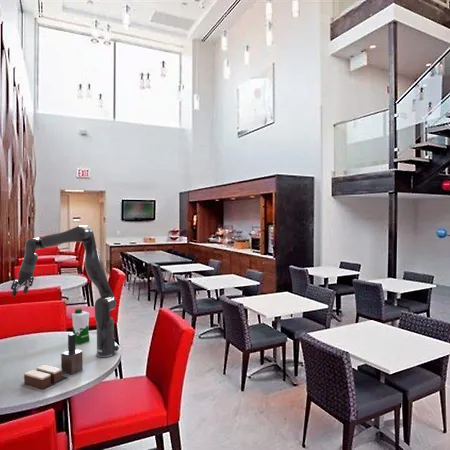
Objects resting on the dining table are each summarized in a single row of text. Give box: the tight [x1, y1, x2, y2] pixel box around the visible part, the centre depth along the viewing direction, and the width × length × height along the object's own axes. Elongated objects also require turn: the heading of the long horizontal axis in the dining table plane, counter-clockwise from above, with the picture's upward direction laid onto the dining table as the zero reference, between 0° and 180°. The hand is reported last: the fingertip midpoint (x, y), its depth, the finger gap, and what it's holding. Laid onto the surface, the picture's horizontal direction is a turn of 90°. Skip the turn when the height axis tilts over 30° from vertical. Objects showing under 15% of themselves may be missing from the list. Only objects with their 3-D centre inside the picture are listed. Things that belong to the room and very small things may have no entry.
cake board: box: [21, 375, 69, 391], centre depth 176 cm, size 15×14×1 cm
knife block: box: [60, 348, 84, 376], centre depth 186 cm, size 7×7×10 cm
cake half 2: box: [36, 364, 63, 383], centre depth 177 cm, size 12×4×5 cm, turn 65°
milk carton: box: [71, 308, 90, 345], centre depth 230 cm, size 9×9×20 cm
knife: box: [67, 333, 76, 353], centre depth 186 cm, size 3×2×19 cm
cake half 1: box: [23, 369, 51, 390], centre depth 172 cm, size 12×4×5 cm, turn 65°
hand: (19, 294), depth 221 cm, fingers open, 8 cm apart
